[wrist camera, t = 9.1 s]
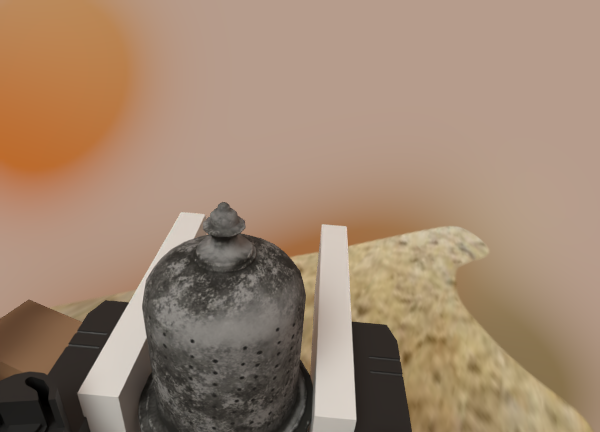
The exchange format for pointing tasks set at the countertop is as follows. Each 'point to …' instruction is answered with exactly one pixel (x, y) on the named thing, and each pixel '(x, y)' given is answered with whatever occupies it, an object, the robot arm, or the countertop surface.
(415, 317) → the countertop surface
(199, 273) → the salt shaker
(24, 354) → the ridge
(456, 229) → the countertop surface
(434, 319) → the countertop surface
